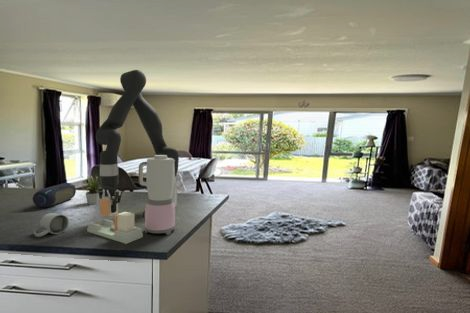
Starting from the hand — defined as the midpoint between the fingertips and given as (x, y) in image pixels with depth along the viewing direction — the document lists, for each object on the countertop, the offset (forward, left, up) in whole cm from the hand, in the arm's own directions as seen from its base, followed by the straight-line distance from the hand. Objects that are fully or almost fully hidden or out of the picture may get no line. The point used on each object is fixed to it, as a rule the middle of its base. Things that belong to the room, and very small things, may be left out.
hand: (110, 211), depth 122 cm
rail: (+8, +14, -5) cm, 17 cm away
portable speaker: (-5, -52, -5) cm, 52 cm away
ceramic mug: (+21, -8, -5) cm, 23 cm away
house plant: (-17, -34, -5) cm, 39 cm away
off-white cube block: (0, 0, -1) cm, 1 cm away
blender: (-4, +24, -5) cm, 25 cm away
